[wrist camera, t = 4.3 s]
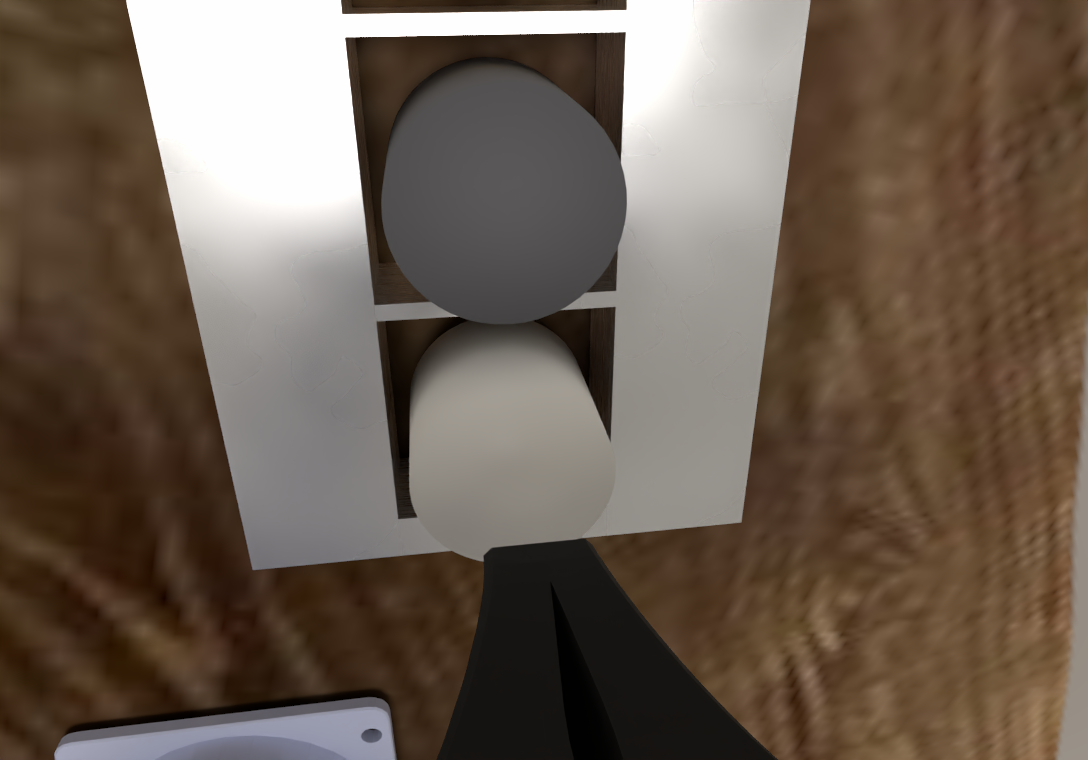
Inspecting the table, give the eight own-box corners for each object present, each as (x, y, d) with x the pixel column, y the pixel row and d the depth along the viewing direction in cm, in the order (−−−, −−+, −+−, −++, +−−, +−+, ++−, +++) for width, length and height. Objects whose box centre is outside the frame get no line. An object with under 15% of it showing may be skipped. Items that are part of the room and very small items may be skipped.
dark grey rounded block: (584, 254, 15) (622, 317, 12) (396, 264, 14) (393, 331, 12) (588, 54, 13) (632, 76, 11) (377, 59, 13) (368, 84, 10)
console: (707, 465, 19) (741, 522, 17) (270, 503, 18) (252, 570, 16) (795, -374, 12) (868, -439, 10) (88, -408, 11) (16, -489, 9)
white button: (581, 460, 17) (612, 553, 14) (416, 475, 16) (417, 573, 14) (584, 309, 15) (619, 381, 13) (402, 320, 15) (400, 397, 12)
